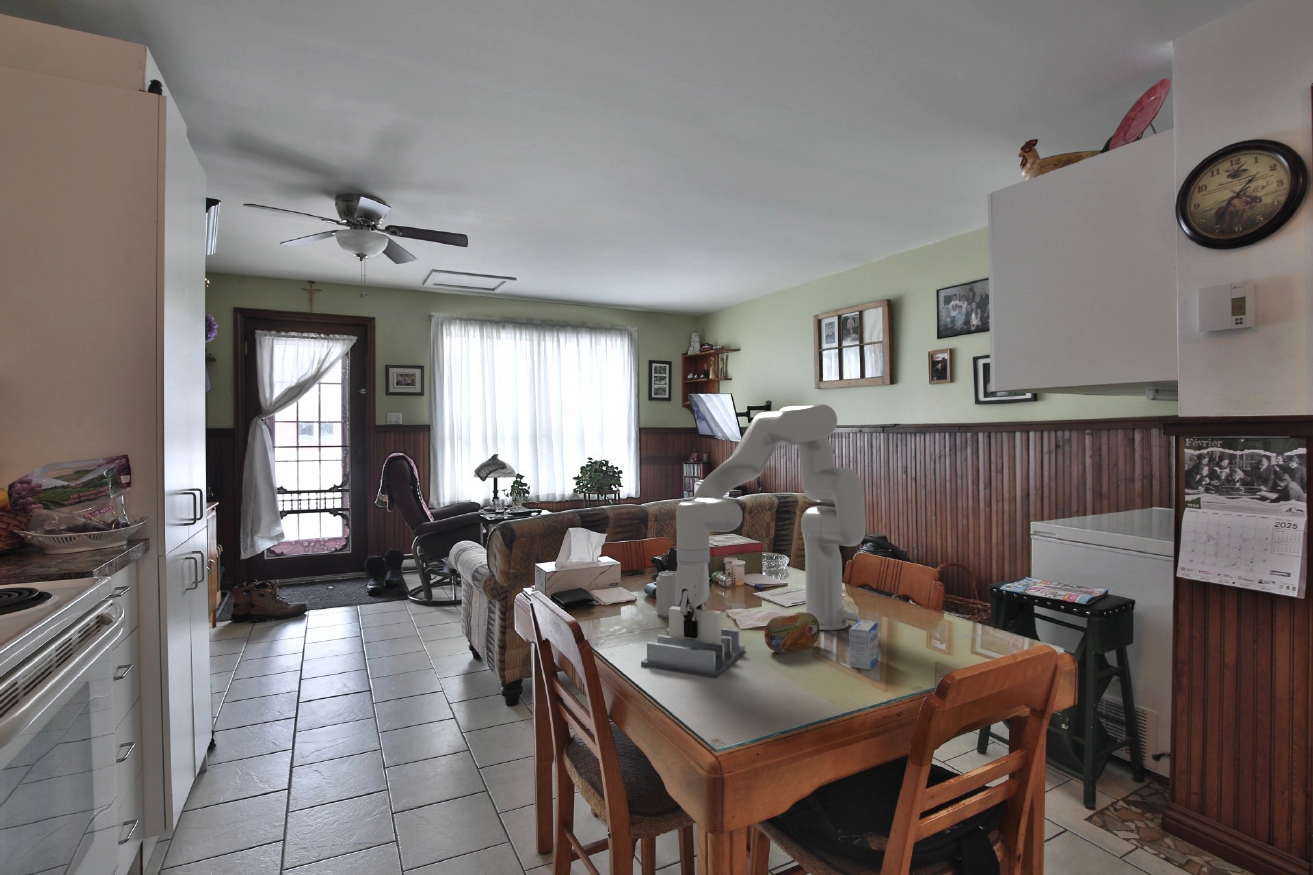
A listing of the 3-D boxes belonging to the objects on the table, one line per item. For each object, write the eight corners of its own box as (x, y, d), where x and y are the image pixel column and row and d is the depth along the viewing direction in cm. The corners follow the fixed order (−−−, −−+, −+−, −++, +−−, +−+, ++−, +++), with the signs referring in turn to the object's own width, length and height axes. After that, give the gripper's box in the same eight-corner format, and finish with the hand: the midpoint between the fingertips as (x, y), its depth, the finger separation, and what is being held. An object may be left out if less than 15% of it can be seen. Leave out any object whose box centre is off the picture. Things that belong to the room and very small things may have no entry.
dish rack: (744, 650, 155) (744, 629, 155) (716, 678, 137) (716, 654, 137) (675, 640, 162) (675, 620, 162) (641, 666, 145) (640, 643, 145)
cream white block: (673, 648, 154) (673, 606, 154) (721, 655, 149) (721, 611, 149) (668, 651, 151) (668, 608, 152) (717, 658, 146) (717, 613, 147)
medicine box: (869, 671, 141) (869, 631, 140) (849, 667, 143) (848, 628, 143) (878, 659, 147) (878, 621, 147) (858, 656, 150) (858, 618, 150)
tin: (770, 656, 150) (770, 620, 150) (762, 652, 153) (762, 617, 153) (820, 645, 157) (820, 611, 157) (812, 642, 160) (811, 608, 160)
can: (680, 618, 181) (679, 576, 181) (654, 617, 183) (653, 575, 183) (684, 611, 189) (684, 570, 188) (659, 610, 190) (658, 569, 190)
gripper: (691, 548, 159) (693, 622, 159) (663, 560, 144) (664, 643, 144) (720, 550, 155) (721, 626, 156) (694, 563, 141) (695, 647, 141)
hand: (694, 633), depth 150 cm, fingers open, 3 cm apart
